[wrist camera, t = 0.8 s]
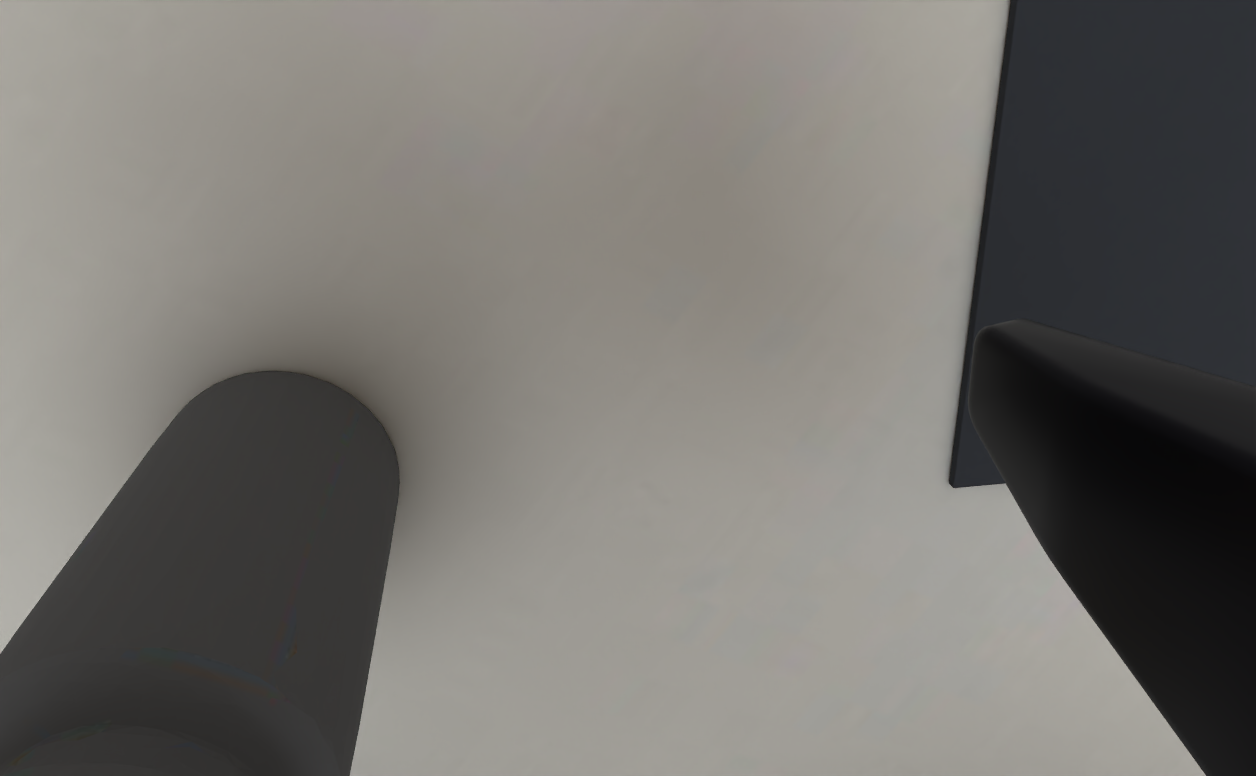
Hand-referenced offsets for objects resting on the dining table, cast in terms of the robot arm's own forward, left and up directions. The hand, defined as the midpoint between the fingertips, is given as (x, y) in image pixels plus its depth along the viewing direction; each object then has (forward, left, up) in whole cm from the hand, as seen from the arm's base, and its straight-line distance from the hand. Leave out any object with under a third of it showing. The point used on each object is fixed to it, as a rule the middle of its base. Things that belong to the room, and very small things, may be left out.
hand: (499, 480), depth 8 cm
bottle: (-7, +6, -15) cm, 18 cm away
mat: (-2, -18, -15) cm, 24 cm away
